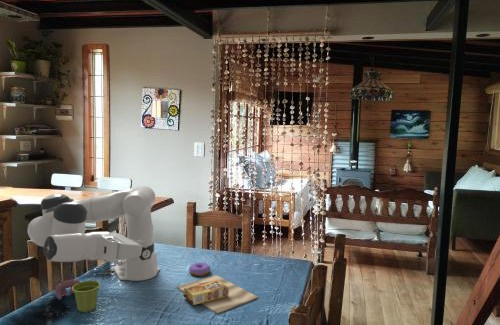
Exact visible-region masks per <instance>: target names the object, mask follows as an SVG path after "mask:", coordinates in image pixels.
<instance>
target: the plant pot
mask: <svg viewBox="0 0 500 325" xmlns="http://www.w3.org/2000/svg"><path fill="white" fill-rule="evenodd" d="M100 287H101V283H100V282H99V281H97V280H84V281H80V283H77V284H75V285H74V286H73V287H72V290H73V291H74V294H73V295H74V297H75V303H76V308H77V311H78V310H79V311H78V312H81V311H82V312H81V313H88V312H87V311H89V312H92V311H93V310H95V309H96V308H97V301H98V300H97V299H98V292H99V289H100ZM91 310H92V311H91Z"/></svg>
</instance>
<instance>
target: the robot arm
mask: <svg viewBox="0 0 500 325" xmlns="http://www.w3.org/2000/svg"><path fill="white" fill-rule="evenodd" d="M74 201H75V200H74V199H73V198H70V197H69V196H68V195H66V194H63V193H53V194H50V195H48V196H46V197H44V198H42V200H41V201H40V210H42V211H41V212H42V216H37V217H35V218H33V219H32V220H31V221H30V222H29V223H28V225H27V234H28V237H29V239H30V240H31V241H32V242H33V243H34V244H35V245H37V246H39V247H42V248H43V253H44V257H45V259H46V260H47V261H49V262H58V263H66V264H67V263H76V262H81V261H84V260H87V261H106V262H110V263H114V262H116V261H117V262H116V264H117V265H115V266H114V267H113V271H114V272H115V274H116V276H117V278H118V279H119V280H120V281H136V282H137V281H147V280H149V279H153V278H154V277H156V276H157V274H158V272H160V270H161V268H160V267H159V266H158V256H157V253H156V252H155V243H154V224H153V221H152V213H151V212H152V211H151V210H152V207H153V206H154V205H155V202H156V193H155V191H154V190H153V189H152V188H151V187H149V186H142V185H141V186H137V187H132V188H128V189H124V190H120V191H116V192H112V193H106V194H101V195H98V196H96V195H95V196H91V197H88V198H84V199H80V200H78V201H75V202H74ZM121 217H124V218H125V222H126V231H127V232H126V236H127V237H126V236H125V235H123V234H121V233H119V232H113V233H112V232H110V231H107V230H106V231H90V232H86V224H91V223H92V224H94V223H98V222H103V221H104V222H105V221H110V220H113V219H119V218H121ZM85 232H86V233H85Z"/></svg>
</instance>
